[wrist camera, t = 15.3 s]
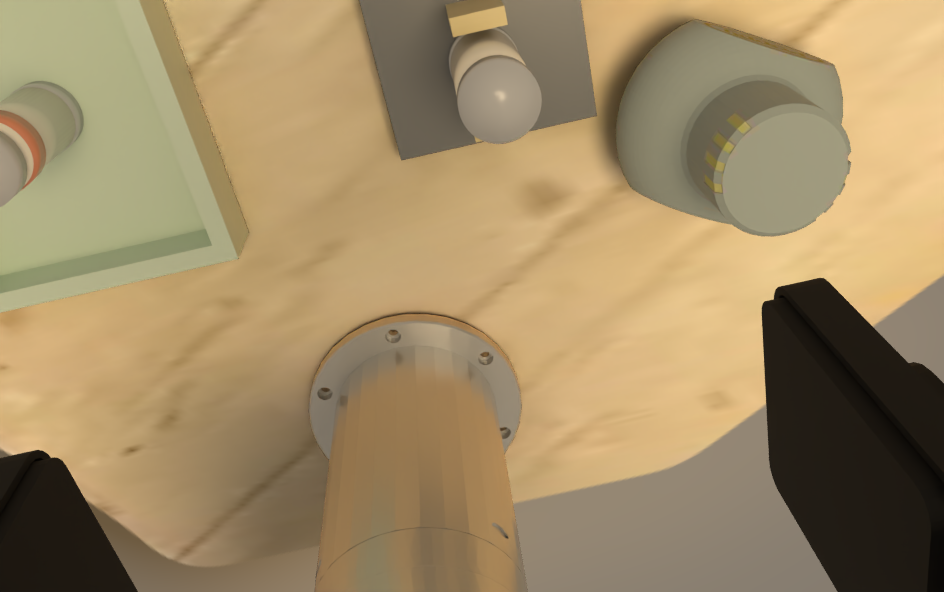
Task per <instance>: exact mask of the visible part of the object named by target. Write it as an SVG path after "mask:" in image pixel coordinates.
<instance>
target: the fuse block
mask: <svg viewBox="0 0 944 592" xmlns="http://www.w3.org/2000/svg"><path fill="white" fill-rule="evenodd" d="M359 2H360V6H361V9H362V13H363V17H364V21H365V25H366V28H367V32H368V36H369V40H370V44H371V47H372V51H373V55H374V59H375V63H376V66H377V70H378V74H379V78H380V81H381V85H382V89H383V93H384V97H385V100H386V104H387V108H388V112H389V116H390V119H391V123H392V127H393V131H394V135H395V138H396V142H397V146H398V150H399V154H400V157H401V160H406V159H410V158H414V157H419V156H423V155H428V154H432V153H436V152H441V151H445V150H449V149H454V148H458V147H463V146H467V145H471V144H476V143H480V142H484V141H482V140H480V139H478V138H477V137H475V136H474V135H472V134H471V133H470V132H469V131H468V129H467V128H466V127H465V125H464V124H463V122H462V120H461V117H460V114H459V110H458V105H457V95H456V91H455V86H454V82H453V79H452V76H451V73H450V69H449V63H448V55H449V50H450V47H451V44H452V42H453V40H454V39H455V37H457V36H461V35H465V34H470V33H474V32H478V31H483V30H487V29H491V28H495V27H500V28H501V29H503V30H504V31H505V32H507V33H508V35H509V36H510V37H511V38H512V40H513V42H514V43H515V45H516V47H517V50H518V52H519V54H520V56H521V58H522V59H523V61H524V63H525V65H526V66H527V67H528V69H529V70H530V71H531V72H532V74H533V76H534V77H535V79H536V81H537V83H538V85H539V88H540V91H541V98H542V104H541V111H540V114H539V117H538V119H537V121H536V123H535V124H534V126H533V127H532V128H531V129H530V130H529V131H533V130H537V129H541V128H546V127H550V126H555V125H559V124H563V123H568V122H572V121H577V120H581V119H585V118H590V117H594V116H597V113H596V106H595V99H594V91H593V84H592V77H591V70H590V63H589V56H588V49H587V42H586V35H585V28H584V21H583V14H582V7H581V0H359Z"/></svg>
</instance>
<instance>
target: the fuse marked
mask: <svg viewBox="0 0 944 592" xmlns="http://www.w3.org/2000/svg"><path fill="white" fill-rule="evenodd" d="M83 125H84V118H83V113H82V110H81V107H80V105H79V103H78V102H77V100H76V99H75V98H74V97H73V95H72V94H71V93H69V92H68V91H67V90H66V89H64V88H63V87H61V86H59V85H57V84H54V83H51V82H47V81H34V82H30V83H27V84H25V85H23V86H22V87H20V88H19V89H17V90H16V91H14V92H13V93H11V94H10V95H9V96H8V97H7V98H5V99H4V100H2V101H1V102H0V207H2V206H3V205H5V204H6V203H8V202H9V201H10V200H11V199H12V198H13V197H14V196H15V195H16V194H18V193H19V192H20V191H21V190H22V189H24V188H25V187H26V186H27V185H29V184H30V183H31V182H32V181H33V180H34V179H35V178H36V177H37V176H38V175H39V174H40V173H41V172H42V170H43V168H44V167H45V166H47V165H48V164H49V163H50V162H51V161H52V160H53V159H54V158H55V157H56V156H58V155H59V154H60V153H61V152H62V151H64V150H66V149H67V148H68V147H69V146H70V145H71V144H73V143H74V142H75V141H76V140H77V139H78V138H79V136H80V134H81V133H82V130H83Z"/></svg>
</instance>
